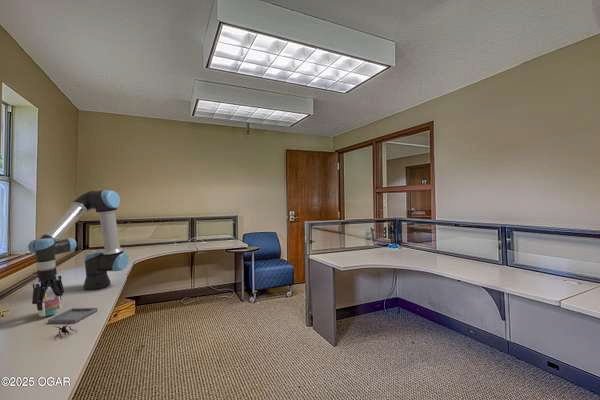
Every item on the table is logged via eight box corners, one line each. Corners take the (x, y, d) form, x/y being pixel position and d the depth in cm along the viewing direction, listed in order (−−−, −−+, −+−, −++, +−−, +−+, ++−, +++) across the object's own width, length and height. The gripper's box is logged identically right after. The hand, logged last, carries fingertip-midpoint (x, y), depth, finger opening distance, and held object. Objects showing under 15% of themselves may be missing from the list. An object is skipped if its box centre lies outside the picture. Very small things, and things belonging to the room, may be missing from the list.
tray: (72, 311, 155) (72, 308, 155) (97, 311, 154) (97, 307, 154) (48, 323, 141) (47, 319, 141) (75, 323, 140) (75, 319, 140)
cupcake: (35, 318, 145) (33, 294, 145) (45, 311, 154) (43, 289, 153) (55, 315, 148) (53, 292, 147) (64, 309, 156) (62, 287, 155)
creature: (79, 336, 129) (73, 328, 133) (79, 325, 128) (73, 317, 133) (56, 344, 123) (51, 335, 127) (56, 333, 122) (51, 324, 126)
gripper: (58, 263, 160) (61, 303, 161) (18, 275, 139) (22, 321, 140) (70, 263, 160) (74, 303, 161) (33, 274, 139) (37, 321, 140)
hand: (50, 312), depth 151 cm, fingers closed on cupcake, 8 cm apart
